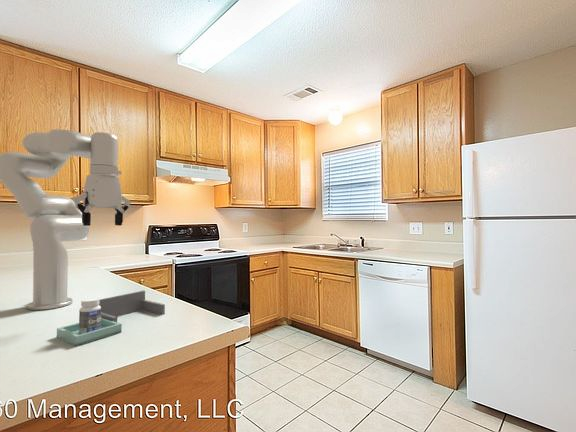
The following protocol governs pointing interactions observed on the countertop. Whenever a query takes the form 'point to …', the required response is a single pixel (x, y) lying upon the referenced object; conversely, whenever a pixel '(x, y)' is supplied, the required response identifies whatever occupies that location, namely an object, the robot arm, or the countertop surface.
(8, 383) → the countertop surface
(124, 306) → the bay
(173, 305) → the countertop surface
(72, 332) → the tray
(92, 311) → the pill bottle
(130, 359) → the countertop surface
